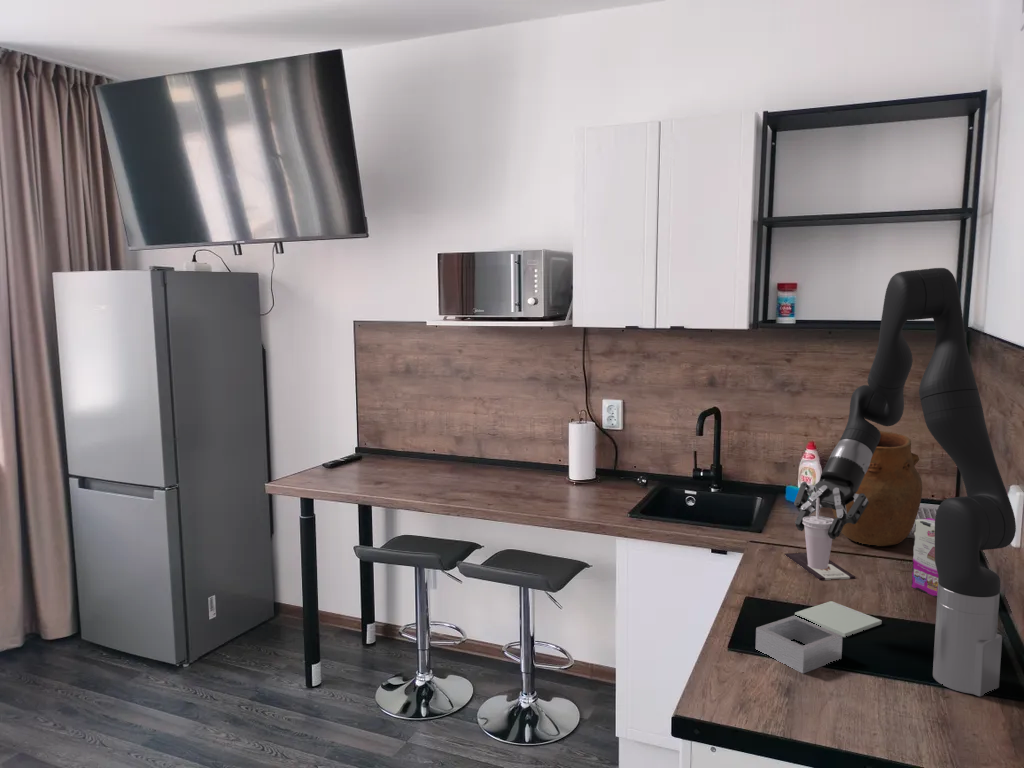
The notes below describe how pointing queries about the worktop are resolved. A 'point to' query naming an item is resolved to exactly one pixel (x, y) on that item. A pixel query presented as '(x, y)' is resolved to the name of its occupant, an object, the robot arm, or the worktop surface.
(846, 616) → the sage mat
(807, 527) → the smoothie
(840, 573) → the chocolate bar
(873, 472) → the pot
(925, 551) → the candy bar box
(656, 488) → the worktop surface
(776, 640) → the gray square open box
